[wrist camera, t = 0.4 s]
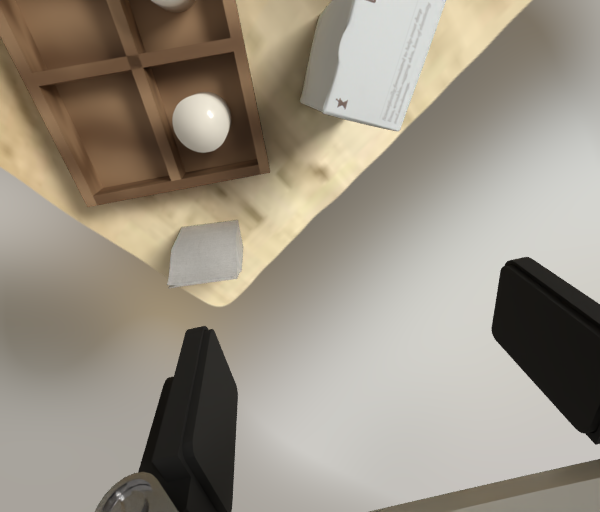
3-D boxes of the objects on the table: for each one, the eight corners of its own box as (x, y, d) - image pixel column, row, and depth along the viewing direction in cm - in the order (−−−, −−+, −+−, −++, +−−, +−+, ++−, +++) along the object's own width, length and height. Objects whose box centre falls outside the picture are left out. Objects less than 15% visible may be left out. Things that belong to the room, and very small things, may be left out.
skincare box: (348, 116, 36) (401, 141, 23) (295, 101, 35) (320, 119, 22) (376, 26, 32) (457, -4, 19) (317, 5, 31) (362, -42, 18)
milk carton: (181, 226, 40) (161, 270, 31) (237, 219, 40) (233, 260, 32) (189, 253, 42) (172, 301, 33) (243, 246, 42) (240, 291, 33)
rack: (-34, -86, 26) (-73, -108, 22) (209, -126, 26) (204, -152, 23) (101, 195, 37) (87, 207, 34) (268, 164, 37) (269, 172, 34)
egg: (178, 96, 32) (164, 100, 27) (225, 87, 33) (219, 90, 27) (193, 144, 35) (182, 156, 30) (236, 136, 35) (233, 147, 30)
